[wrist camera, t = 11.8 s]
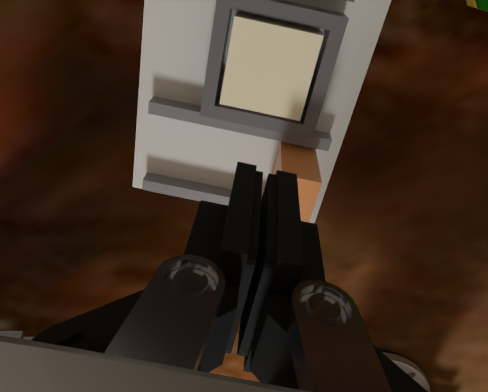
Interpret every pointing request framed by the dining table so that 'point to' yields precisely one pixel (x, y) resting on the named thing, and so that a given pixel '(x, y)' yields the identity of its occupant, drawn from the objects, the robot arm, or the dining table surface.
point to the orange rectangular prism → (301, 174)
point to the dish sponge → (478, 4)
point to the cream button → (269, 65)
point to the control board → (231, 118)
